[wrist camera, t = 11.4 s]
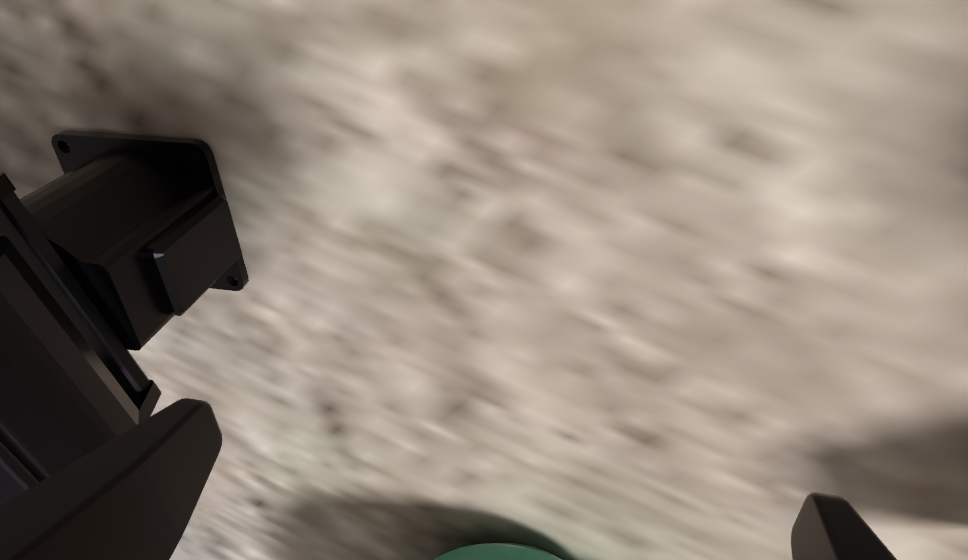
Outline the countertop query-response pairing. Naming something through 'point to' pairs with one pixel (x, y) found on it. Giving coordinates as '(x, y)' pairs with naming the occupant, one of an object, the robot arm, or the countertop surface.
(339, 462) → the countertop surface
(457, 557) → the mug
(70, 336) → the robot arm
